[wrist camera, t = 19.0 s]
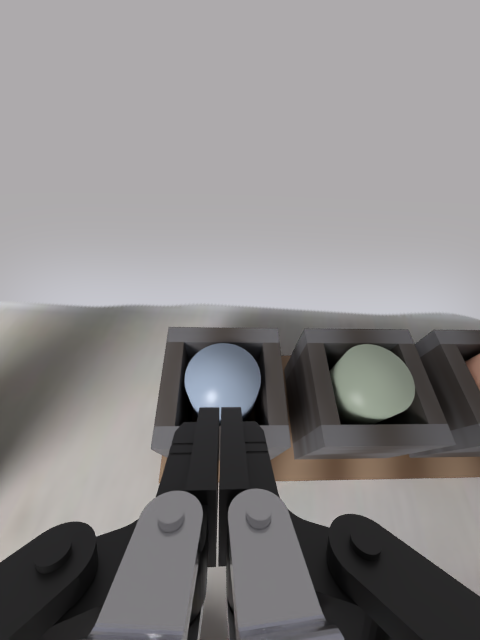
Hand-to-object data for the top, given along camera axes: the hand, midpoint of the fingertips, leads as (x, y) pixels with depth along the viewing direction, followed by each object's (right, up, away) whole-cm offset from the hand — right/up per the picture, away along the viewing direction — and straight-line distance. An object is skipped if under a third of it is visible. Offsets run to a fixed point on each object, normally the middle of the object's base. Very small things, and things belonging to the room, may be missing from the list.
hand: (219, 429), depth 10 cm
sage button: (+9, -2, +11) cm, 15 cm away
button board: (+9, -5, +16) cm, 19 cm away
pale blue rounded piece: (-1, -2, +11) cm, 11 cm away
